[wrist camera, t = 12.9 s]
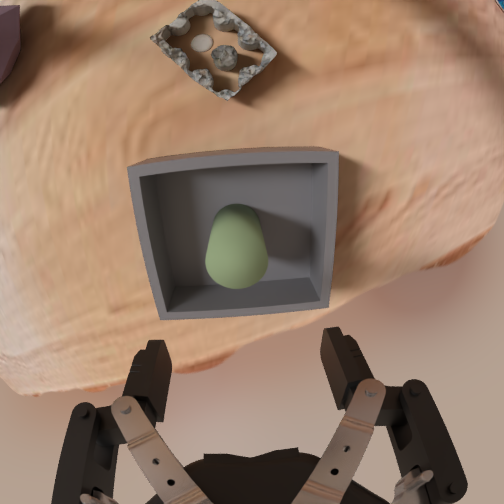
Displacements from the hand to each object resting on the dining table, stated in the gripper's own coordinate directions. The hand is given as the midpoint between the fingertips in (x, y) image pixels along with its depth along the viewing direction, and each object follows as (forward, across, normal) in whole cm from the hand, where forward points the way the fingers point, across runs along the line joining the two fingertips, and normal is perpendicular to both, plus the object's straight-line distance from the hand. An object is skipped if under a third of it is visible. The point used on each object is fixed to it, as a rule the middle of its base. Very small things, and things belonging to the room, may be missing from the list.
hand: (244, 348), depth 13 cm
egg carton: (+19, +1, -19) cm, 27 cm away
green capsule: (+18, 0, 0) cm, 18 cm away
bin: (+19, 0, 0) cm, 19 cm away
